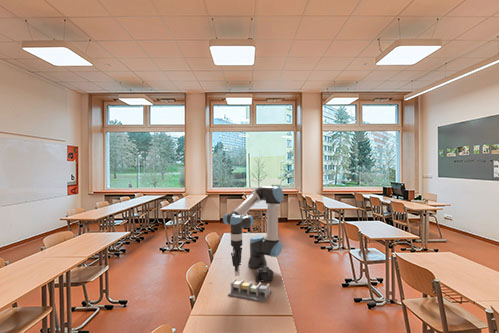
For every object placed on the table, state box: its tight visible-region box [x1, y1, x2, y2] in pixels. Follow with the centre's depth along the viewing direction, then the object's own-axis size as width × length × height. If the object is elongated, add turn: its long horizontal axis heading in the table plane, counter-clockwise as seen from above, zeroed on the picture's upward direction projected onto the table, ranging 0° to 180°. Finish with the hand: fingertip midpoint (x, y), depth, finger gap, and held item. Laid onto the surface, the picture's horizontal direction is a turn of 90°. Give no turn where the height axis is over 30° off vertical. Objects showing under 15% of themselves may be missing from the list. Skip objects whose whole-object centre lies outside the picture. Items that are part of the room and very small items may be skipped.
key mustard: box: [241, 281, 250, 289], centre depth 165 cm, size 4×4×2 cm
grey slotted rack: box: [227, 277, 272, 303], centre depth 164 cm, size 14×24×6 cm, turn 68°
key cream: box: [233, 280, 241, 288], centre depth 167 cm, size 4×4×2 cm
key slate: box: [259, 284, 267, 293], centre depth 161 cm, size 4×4×2 cm
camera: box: [254, 265, 275, 283], centre depth 182 cm, size 13×10×10 cm
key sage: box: [250, 284, 257, 292], centre depth 163 cm, size 4×4×2 cm
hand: (237, 275), depth 167 cm, fingers closed
